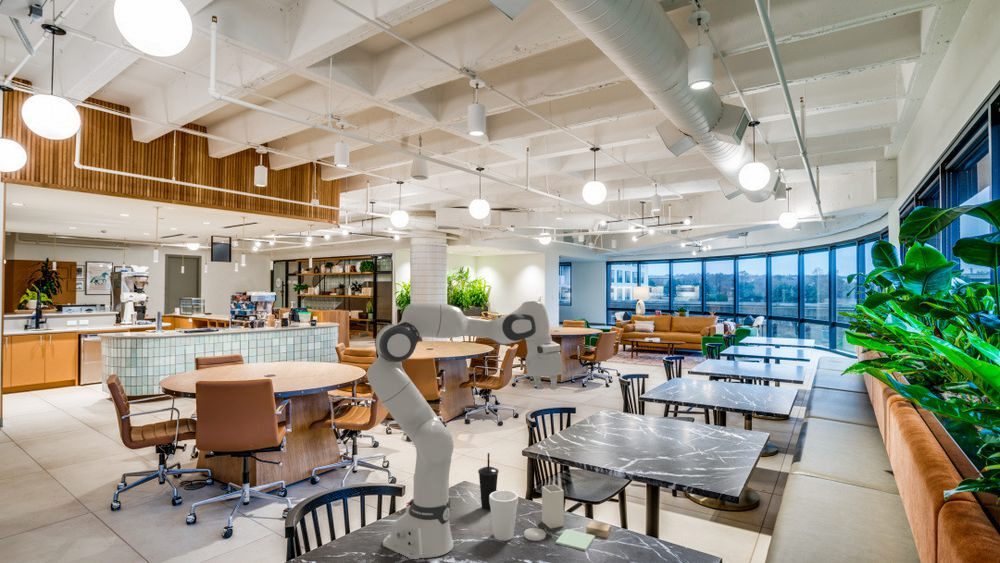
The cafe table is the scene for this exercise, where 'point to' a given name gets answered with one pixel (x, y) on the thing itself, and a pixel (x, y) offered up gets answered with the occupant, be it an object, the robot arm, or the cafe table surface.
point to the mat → (575, 539)
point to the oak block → (598, 529)
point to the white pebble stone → (534, 534)
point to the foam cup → (503, 513)
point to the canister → (552, 506)
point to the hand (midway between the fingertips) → (546, 389)
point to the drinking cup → (487, 484)
